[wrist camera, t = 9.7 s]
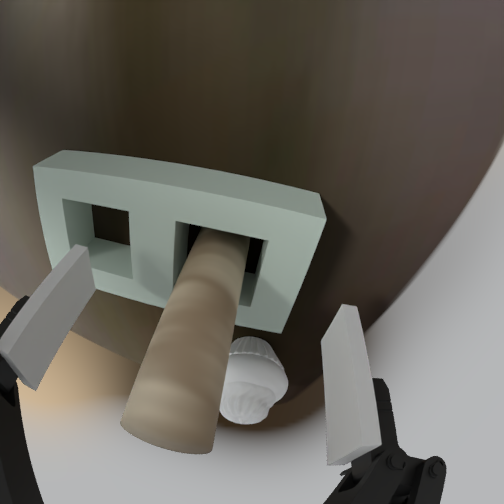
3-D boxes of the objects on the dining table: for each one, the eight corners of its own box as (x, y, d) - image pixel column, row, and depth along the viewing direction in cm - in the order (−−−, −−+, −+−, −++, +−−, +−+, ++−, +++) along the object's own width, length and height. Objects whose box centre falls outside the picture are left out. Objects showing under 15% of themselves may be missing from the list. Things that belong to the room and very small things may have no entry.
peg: (198, 252, 18) (129, 437, 8) (203, 209, 16) (111, 408, 6) (245, 262, 18) (209, 459, 8) (254, 220, 16) (216, 438, 6)
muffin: (269, 373, 25) (264, 441, 19) (206, 354, 24) (190, 424, 18) (302, 337, 22) (303, 418, 16) (228, 313, 21) (211, 397, 15)
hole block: (74, 250, 19) (53, 274, 16) (63, 149, 14) (32, 166, 12) (282, 300, 19) (281, 333, 17) (319, 193, 15) (326, 219, 12)
